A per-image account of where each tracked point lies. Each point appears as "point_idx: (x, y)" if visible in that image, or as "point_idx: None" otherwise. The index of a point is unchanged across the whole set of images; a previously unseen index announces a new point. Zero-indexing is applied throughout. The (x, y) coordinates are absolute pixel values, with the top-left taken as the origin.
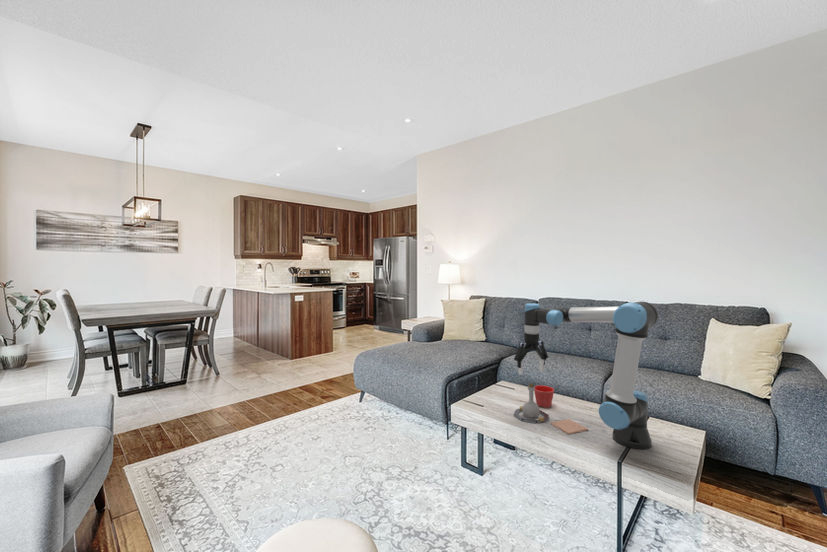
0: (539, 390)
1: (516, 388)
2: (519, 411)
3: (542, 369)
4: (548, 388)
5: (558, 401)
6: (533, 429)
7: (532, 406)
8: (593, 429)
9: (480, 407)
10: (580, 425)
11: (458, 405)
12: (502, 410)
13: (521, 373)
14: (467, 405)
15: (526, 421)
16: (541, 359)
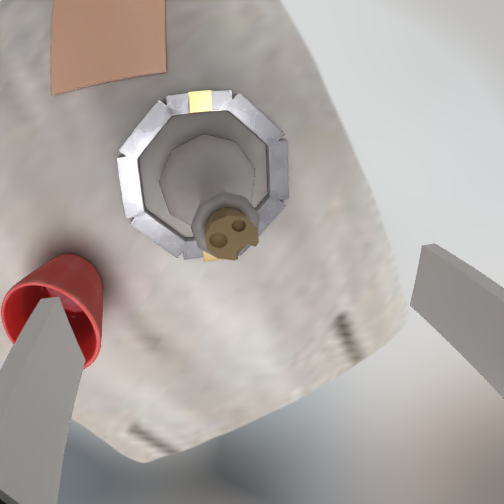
0: None
1: (121, 428)
2: None
3: (47, 325)
4: None
5: None
6: (285, 52)
7: (225, 153)
8: (30, 7)
9: (354, 307)
10: (56, 25)
11: (400, 328)
12: (295, 267)
13: (445, 251)
14: (379, 327)
15: (270, 122)
16: (15, 501)
